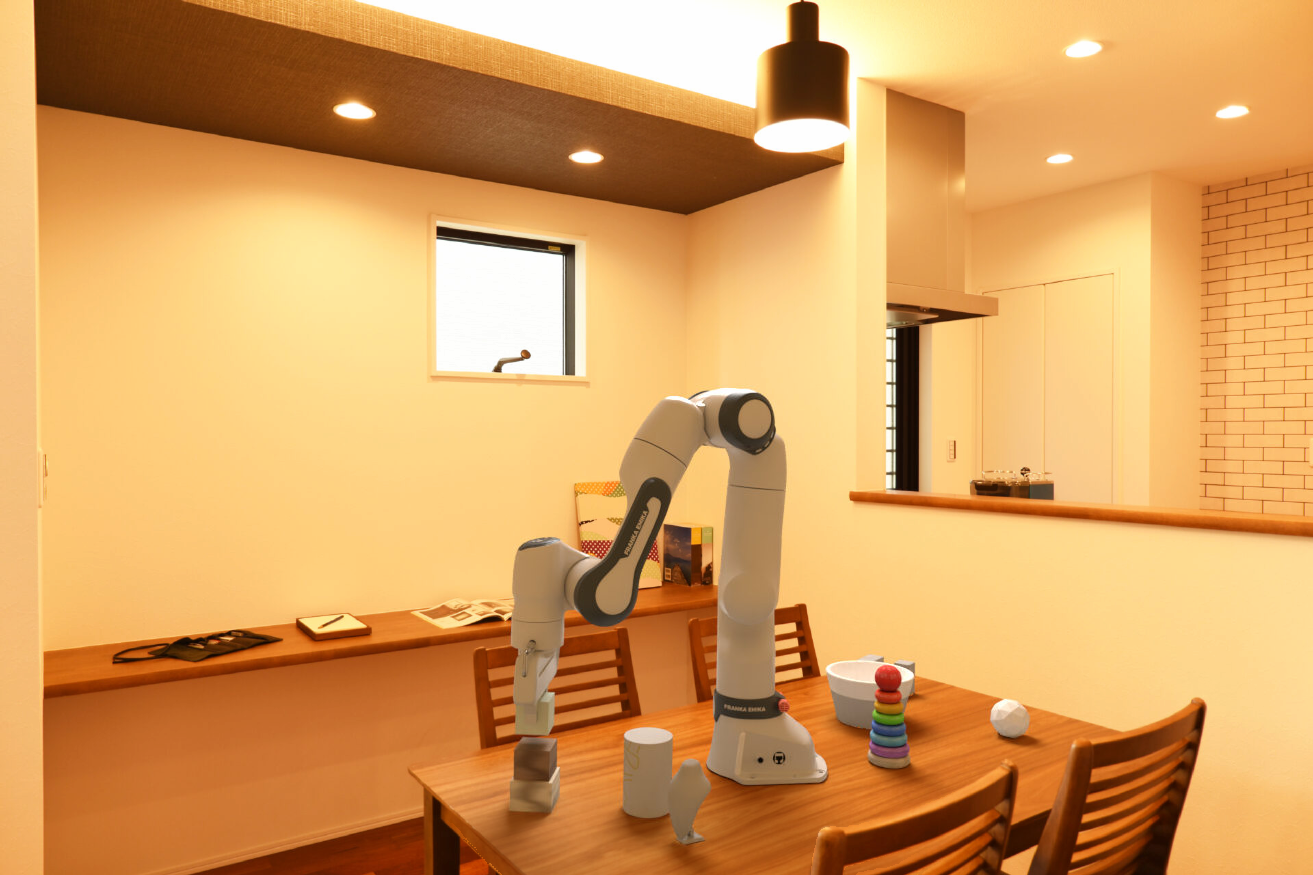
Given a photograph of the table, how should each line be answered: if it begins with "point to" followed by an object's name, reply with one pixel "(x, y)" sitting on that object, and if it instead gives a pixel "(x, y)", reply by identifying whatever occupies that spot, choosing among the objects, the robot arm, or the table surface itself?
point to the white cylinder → (647, 772)
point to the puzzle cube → (901, 663)
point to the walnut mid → (535, 759)
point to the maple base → (535, 794)
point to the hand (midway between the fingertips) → (535, 716)
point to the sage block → (544, 717)
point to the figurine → (687, 799)
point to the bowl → (860, 690)
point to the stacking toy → (888, 722)
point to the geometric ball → (1010, 718)
